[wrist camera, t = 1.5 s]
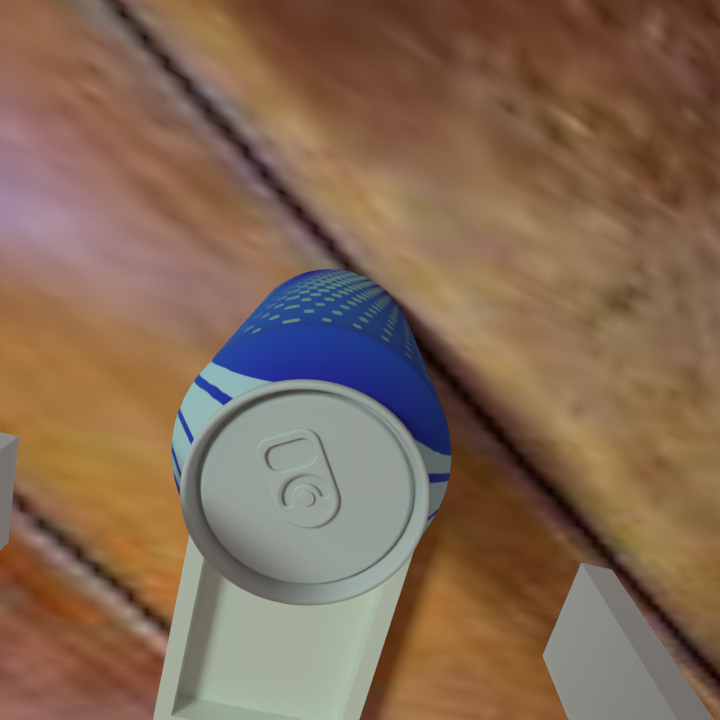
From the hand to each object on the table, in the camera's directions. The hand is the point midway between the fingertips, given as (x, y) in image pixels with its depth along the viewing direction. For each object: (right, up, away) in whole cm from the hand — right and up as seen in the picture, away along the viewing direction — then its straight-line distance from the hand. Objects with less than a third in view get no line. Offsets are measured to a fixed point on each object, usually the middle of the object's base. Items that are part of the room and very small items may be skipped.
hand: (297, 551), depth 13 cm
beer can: (0, +5, +17) cm, 18 cm away
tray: (-3, -10, +22) cm, 24 cm away
